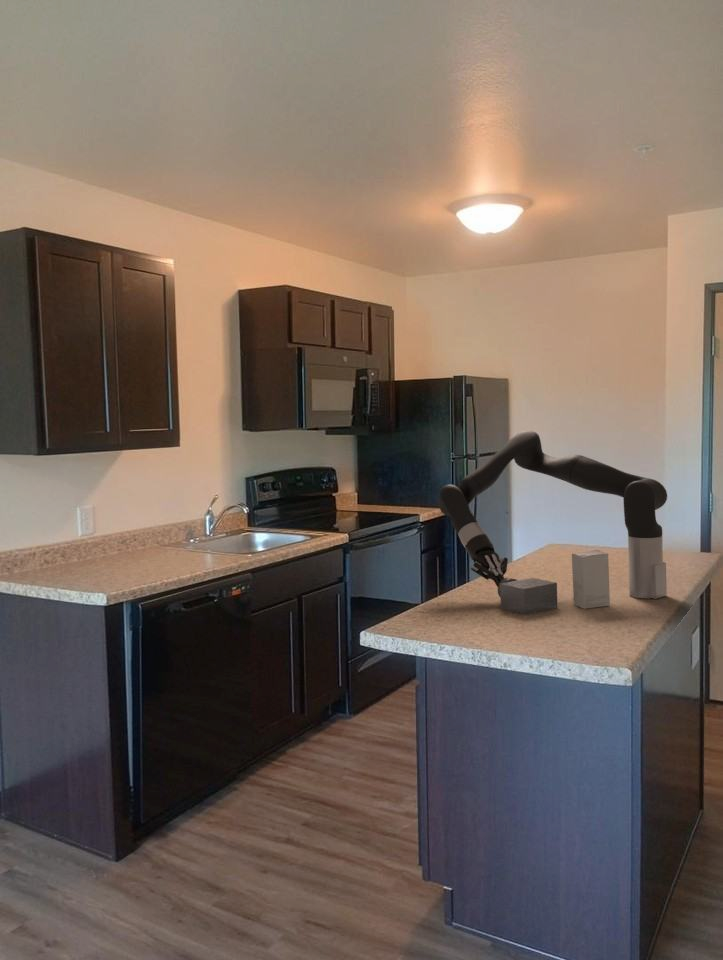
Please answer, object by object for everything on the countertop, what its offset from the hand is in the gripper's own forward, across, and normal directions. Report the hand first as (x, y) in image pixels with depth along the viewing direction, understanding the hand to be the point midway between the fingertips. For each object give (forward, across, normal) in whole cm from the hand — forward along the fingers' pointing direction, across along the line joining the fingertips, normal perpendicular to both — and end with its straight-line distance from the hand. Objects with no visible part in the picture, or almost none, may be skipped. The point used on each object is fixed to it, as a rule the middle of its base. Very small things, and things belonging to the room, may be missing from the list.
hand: (504, 588), depth 223 cm
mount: (+10, 0, +4) cm, 11 cm away
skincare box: (+16, -15, +10) cm, 24 cm away
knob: (+7, 0, +2) cm, 7 cm away
